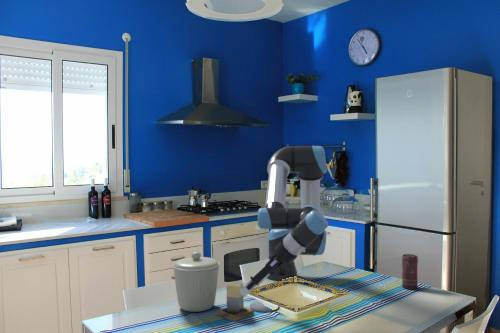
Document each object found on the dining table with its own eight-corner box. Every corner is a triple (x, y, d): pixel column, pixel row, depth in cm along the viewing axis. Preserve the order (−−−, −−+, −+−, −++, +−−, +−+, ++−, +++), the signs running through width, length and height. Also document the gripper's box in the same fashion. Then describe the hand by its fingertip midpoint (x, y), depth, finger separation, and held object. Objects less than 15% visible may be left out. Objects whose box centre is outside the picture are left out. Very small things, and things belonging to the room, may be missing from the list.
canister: (213, 317, 155) (212, 258, 154) (164, 314, 158) (164, 256, 158) (226, 301, 172) (225, 247, 172) (182, 298, 176) (181, 246, 176)
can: (420, 290, 185) (420, 256, 185) (405, 290, 185) (404, 256, 185) (415, 285, 191) (414, 253, 191) (400, 285, 191) (400, 253, 191)
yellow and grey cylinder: (226, 316, 156) (226, 285, 156) (231, 311, 160) (231, 281, 160) (238, 317, 154) (238, 286, 154) (243, 313, 159) (243, 283, 158)
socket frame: (216, 314, 157) (216, 310, 157) (236, 308, 164) (236, 304, 164) (234, 321, 151) (234, 317, 151) (253, 314, 157) (253, 310, 157)
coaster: (243, 307, 165) (243, 305, 165) (263, 300, 173) (263, 299, 173) (264, 314, 157) (264, 312, 157) (285, 307, 165) (285, 305, 165)
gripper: (288, 264, 136) (243, 308, 141) (305, 249, 160) (267, 287, 165) (271, 246, 138) (228, 290, 143) (291, 234, 162) (253, 272, 167)
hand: (248, 288), depth 154 cm, fingers open, 13 cm apart
